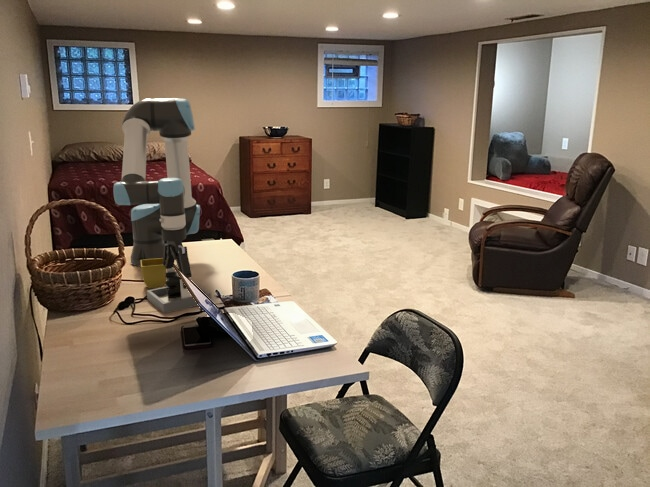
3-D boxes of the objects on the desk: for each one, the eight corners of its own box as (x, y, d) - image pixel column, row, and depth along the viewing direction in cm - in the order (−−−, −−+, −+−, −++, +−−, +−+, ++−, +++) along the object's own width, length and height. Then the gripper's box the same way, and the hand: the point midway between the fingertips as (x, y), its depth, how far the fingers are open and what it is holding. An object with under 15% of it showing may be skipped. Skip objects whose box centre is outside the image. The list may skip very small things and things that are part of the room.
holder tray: (147, 299, 188) (146, 290, 188) (192, 289, 197) (192, 281, 197) (163, 313, 177) (163, 303, 176) (211, 302, 186) (210, 293, 185)
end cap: (191, 296, 183) (189, 276, 181) (168, 299, 181) (166, 279, 179) (188, 286, 192) (186, 267, 190) (166, 289, 190) (164, 270, 188)
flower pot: (167, 281, 207) (166, 257, 204) (169, 288, 199) (167, 264, 196) (142, 283, 204) (140, 259, 202) (143, 291, 196) (140, 266, 194)
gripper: (149, 222, 188) (154, 284, 193) (176, 236, 169) (181, 305, 175) (171, 219, 192) (175, 280, 198) (200, 232, 173) (204, 299, 179)
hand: (178, 292), depth 186 cm, fingers closed on end cap, 11 cm apart
